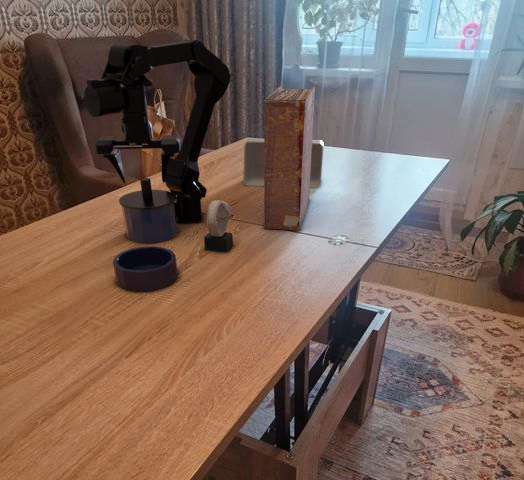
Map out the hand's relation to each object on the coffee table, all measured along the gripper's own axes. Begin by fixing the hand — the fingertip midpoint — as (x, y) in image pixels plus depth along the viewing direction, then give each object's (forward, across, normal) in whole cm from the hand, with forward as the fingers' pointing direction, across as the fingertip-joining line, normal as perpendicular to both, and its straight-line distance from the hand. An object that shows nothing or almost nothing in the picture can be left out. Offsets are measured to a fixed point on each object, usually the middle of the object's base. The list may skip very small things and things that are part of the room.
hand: (144, 182), depth 116 cm
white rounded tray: (+13, -39, -44) cm, 60 cm away
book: (+13, -36, -11) cm, 40 cm away
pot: (+13, 0, 0) cm, 13 cm away
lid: (+4, 0, 0) cm, 4 cm away
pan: (+13, -2, +25) cm, 28 cm away
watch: (+13, -17, +11) cm, 24 cm away
